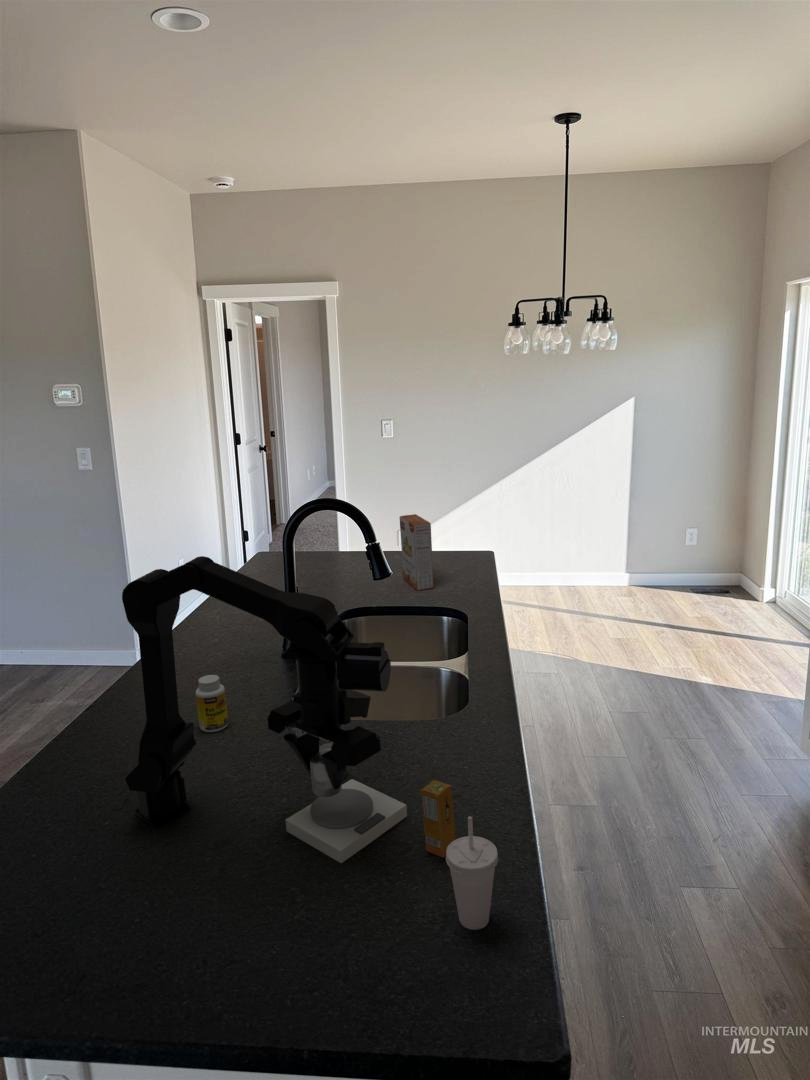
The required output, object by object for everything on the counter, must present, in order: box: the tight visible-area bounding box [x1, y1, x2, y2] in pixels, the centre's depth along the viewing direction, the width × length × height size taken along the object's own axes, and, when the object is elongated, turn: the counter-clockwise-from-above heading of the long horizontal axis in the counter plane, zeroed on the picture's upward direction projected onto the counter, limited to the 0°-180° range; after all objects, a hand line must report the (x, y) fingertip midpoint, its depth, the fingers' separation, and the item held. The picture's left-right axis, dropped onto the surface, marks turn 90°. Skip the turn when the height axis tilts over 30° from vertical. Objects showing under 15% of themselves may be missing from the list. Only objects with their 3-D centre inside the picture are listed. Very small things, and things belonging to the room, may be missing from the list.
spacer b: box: [319, 742, 346, 778], centre depth 127 cm, size 4×4×5 cm
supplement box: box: [420, 779, 457, 859], centre depth 106 cm, size 3×3×10 cm
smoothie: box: [445, 815, 499, 931], centre depth 92 cm, size 6×6×14 cm
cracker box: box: [399, 513, 435, 591], centre depth 231 cm, size 14×6×21 cm, turn 17°
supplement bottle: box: [195, 674, 229, 733], centre depth 146 cm, size 6×6×10 cm
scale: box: [285, 778, 408, 864], centre depth 114 cm, size 14×12×3 cm
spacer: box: [310, 751, 343, 797], centre depth 111 cm, size 4×4×5 cm
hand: (326, 782), depth 111 cm, fingers closed on spacer, 4 cm apart
